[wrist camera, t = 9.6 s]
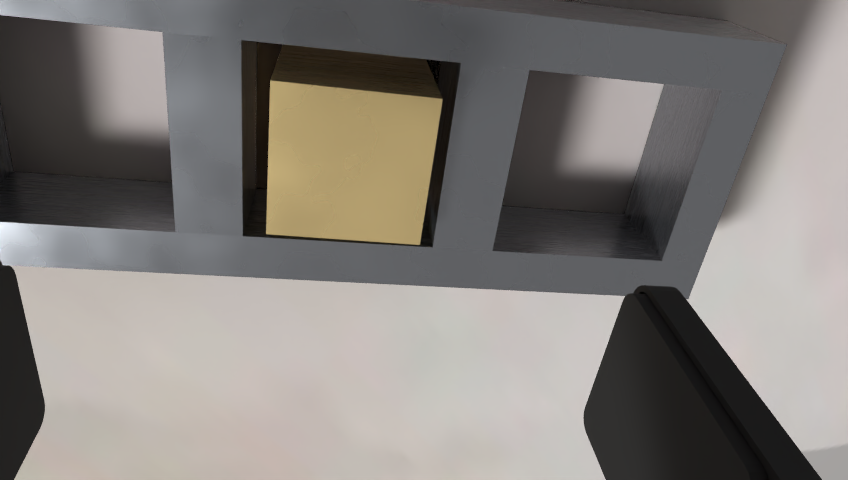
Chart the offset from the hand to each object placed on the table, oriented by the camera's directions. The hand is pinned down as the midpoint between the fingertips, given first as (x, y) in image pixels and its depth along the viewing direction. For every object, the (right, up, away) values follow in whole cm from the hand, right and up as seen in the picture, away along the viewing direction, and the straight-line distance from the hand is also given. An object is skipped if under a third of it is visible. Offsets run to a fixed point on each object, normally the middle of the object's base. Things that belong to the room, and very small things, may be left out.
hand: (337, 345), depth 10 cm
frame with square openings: (-1, +6, +12) cm, 13 cm away
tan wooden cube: (-1, +6, +12) cm, 14 cm away
